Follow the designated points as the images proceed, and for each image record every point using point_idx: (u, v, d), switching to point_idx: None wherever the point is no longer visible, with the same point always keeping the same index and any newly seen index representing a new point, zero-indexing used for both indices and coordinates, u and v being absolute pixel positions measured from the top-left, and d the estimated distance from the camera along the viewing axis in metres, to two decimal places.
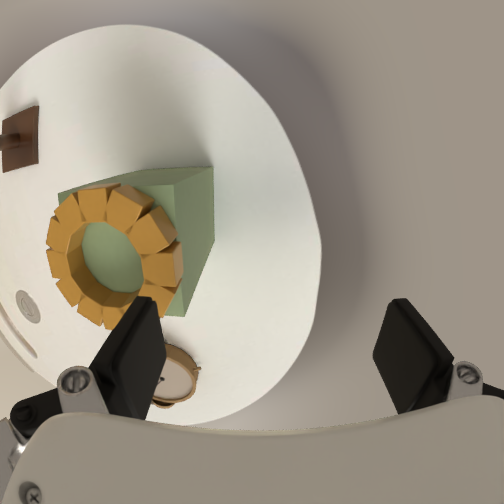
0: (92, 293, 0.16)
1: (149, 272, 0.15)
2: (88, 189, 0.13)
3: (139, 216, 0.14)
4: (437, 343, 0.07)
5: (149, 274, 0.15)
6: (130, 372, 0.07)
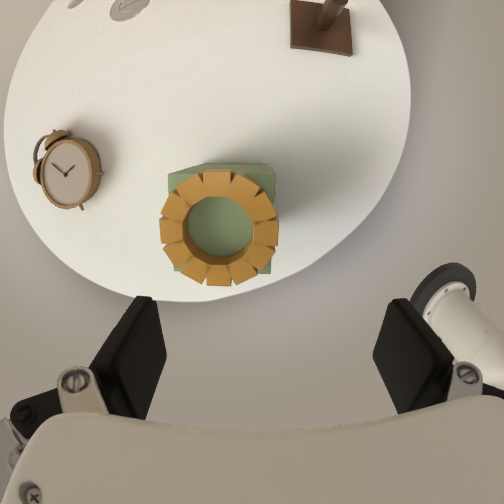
0: (190, 209, 0.21)
1: (216, 269, 0.23)
2: (277, 230, 0.21)
3: (255, 266, 0.23)
4: (437, 343, 0.07)
5: (214, 269, 0.23)
6: (130, 372, 0.07)
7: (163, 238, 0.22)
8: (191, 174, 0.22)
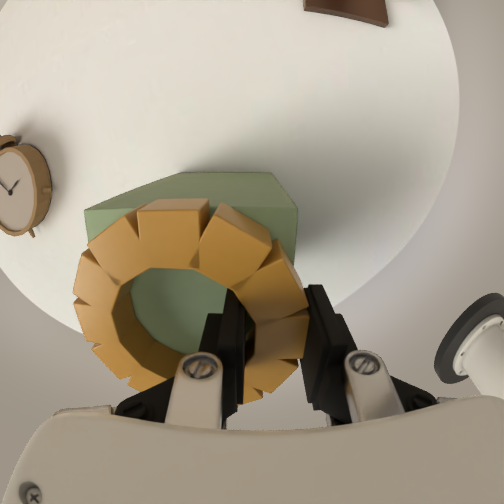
0: (124, 286, 0.10)
1: None
2: (306, 332, 0.10)
3: None
4: (333, 328, 0.08)
5: None
6: (243, 353, 0.08)
7: (87, 334, 0.10)
8: (123, 210, 0.10)
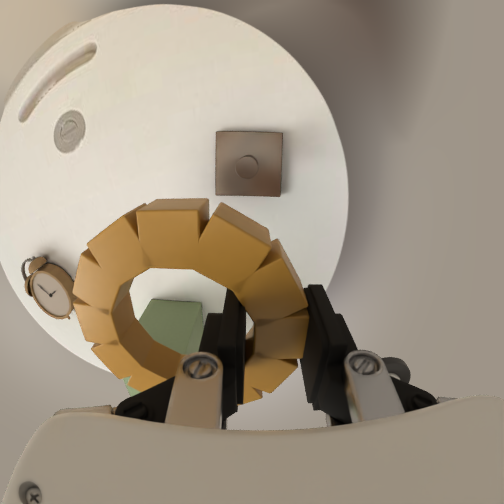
0: (124, 286, 0.10)
1: None
2: (306, 332, 0.10)
3: None
4: (333, 328, 0.08)
5: None
6: (243, 353, 0.08)
7: (87, 334, 0.10)
8: None
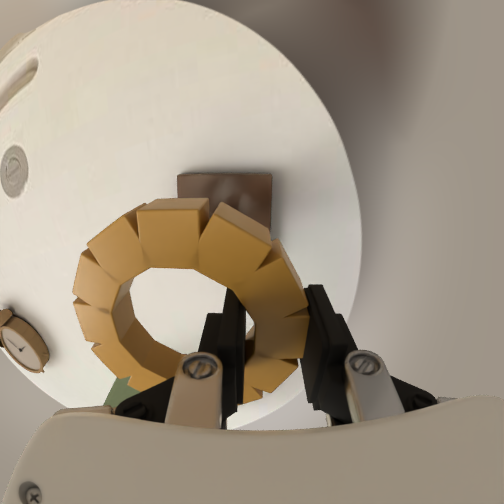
0: (124, 285, 0.10)
1: None
2: (306, 332, 0.10)
3: None
4: (334, 328, 0.08)
5: None
6: (243, 353, 0.08)
7: (87, 334, 0.10)
8: None
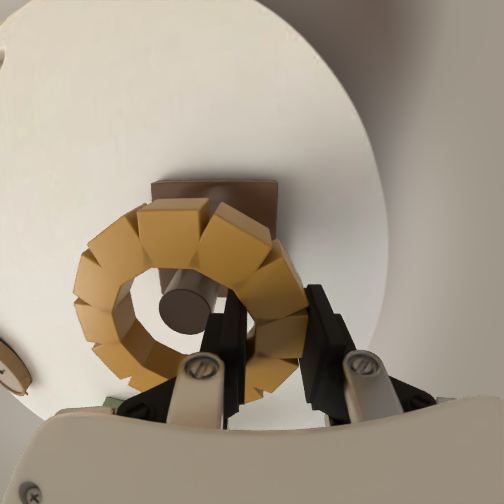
0: (125, 286, 0.10)
1: None
2: None
3: None
4: (332, 328, 0.08)
5: None
6: None
7: (87, 334, 0.10)
8: None
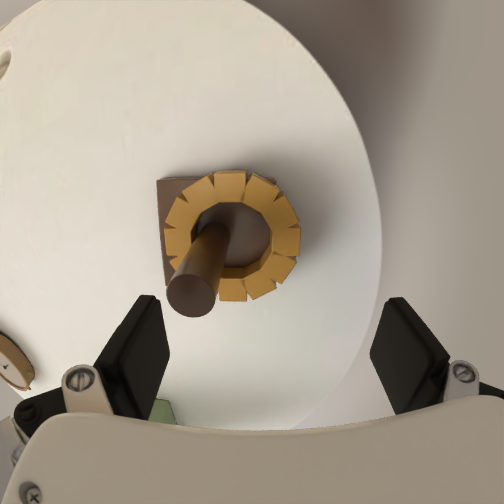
0: (199, 216, 0.19)
1: (230, 284, 0.20)
2: (299, 238, 0.19)
3: (273, 279, 0.20)
4: (433, 342, 0.07)
5: (228, 284, 0.20)
6: (134, 370, 0.07)
7: (169, 250, 0.19)
8: None
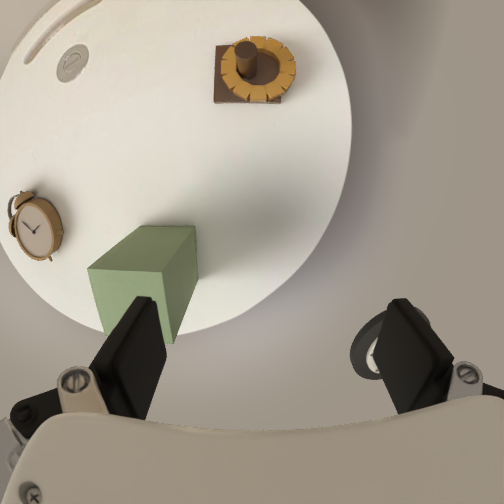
0: None
1: (257, 88, 0.30)
2: None
3: (282, 87, 0.30)
4: (437, 343, 0.07)
5: (256, 88, 0.30)
6: (130, 372, 0.07)
7: (223, 70, 0.29)
8: (102, 270, 0.25)
